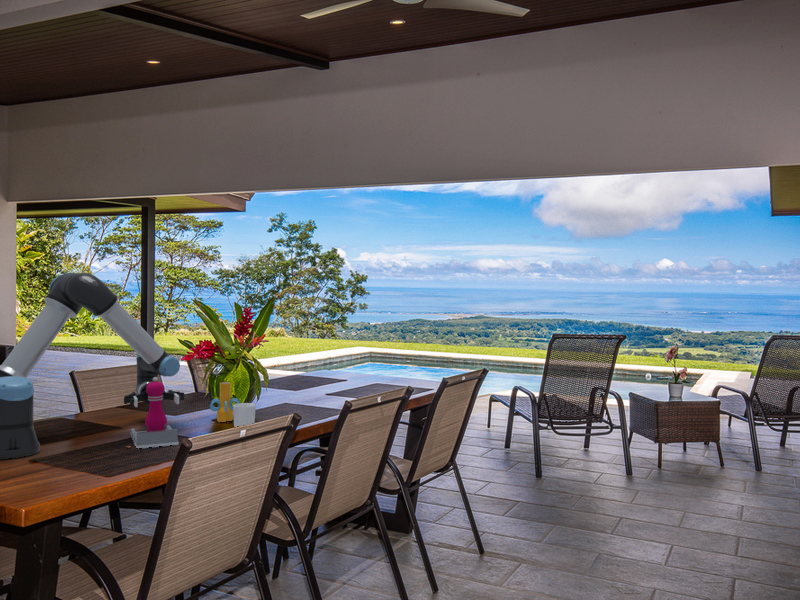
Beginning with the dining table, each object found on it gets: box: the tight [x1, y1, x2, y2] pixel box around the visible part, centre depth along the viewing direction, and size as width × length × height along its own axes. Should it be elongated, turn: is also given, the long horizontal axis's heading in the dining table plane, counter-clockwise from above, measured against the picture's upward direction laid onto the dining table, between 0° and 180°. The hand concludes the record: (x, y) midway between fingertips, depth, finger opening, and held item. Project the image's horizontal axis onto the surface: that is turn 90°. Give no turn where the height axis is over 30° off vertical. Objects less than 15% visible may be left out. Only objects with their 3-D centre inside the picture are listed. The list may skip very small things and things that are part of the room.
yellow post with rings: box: [209, 381, 240, 423], centre depth 259 cm, size 12×10×15 cm
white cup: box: [232, 402, 256, 427], centre depth 240 cm, size 8×8×10 cm
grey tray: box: [129, 424, 179, 450], centre depth 228 cm, size 22×13×5 cm, turn 27°
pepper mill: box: [144, 377, 168, 431], centre depth 231 cm, size 7×7×20 cm
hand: (157, 401), depth 228 cm, fingers open, 13 cm apart
